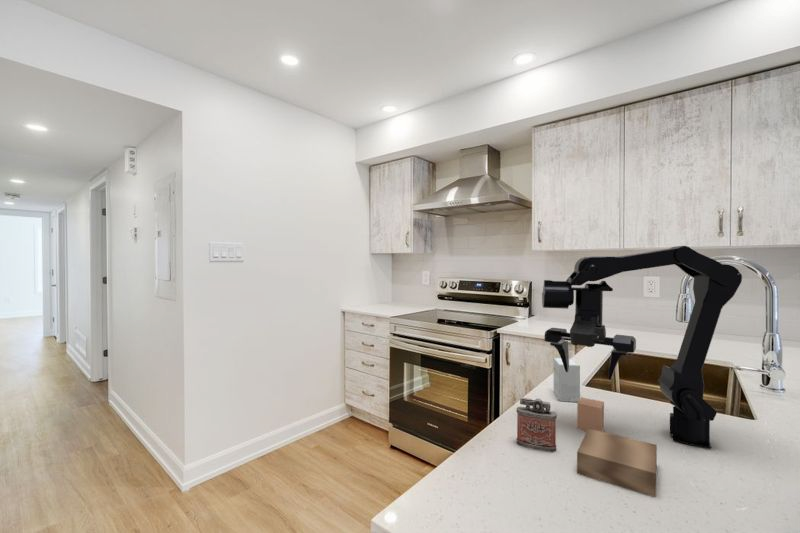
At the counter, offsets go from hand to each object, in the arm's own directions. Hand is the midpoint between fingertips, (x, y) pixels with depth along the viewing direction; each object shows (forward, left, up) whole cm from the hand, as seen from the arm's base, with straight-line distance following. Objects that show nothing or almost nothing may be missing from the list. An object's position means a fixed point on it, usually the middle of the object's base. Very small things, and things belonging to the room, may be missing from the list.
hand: (587, 375), depth 87 cm
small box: (+8, -19, -13) cm, 24 cm away
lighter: (+7, +16, -13) cm, 22 cm away
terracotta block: (-1, -1, -13) cm, 13 cm away
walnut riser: (-8, +16, -13) cm, 22 cm away
